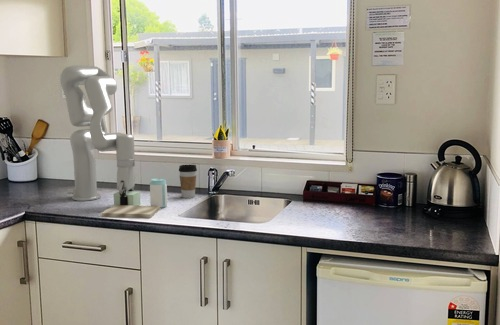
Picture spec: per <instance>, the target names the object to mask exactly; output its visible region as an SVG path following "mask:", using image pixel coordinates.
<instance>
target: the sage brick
mask: <svg viewBox="0 0 500 325" xmlns="http://www.w3.org/2000/svg"><path fill="white" fill-rule="evenodd" d="M124 193H125V191H124ZM127 197H128V205H135V206H141V191H135V190H134V191H127ZM113 205H120V194H119V191H118V192H115V193H113Z"/></svg>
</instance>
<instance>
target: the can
mask: <svg viewBox="0 0 500 325" xmlns="http://www.w3.org/2000/svg"><path fill="white" fill-rule="evenodd" d="M150 180H151V181H150V183H149V197H150V199H149V200H150V203H149V204H150V206H160V209H164V208H166V207H167V206H168V188H167V187H168V186H167V184H168V183H167V181H166V179H165V178H160V177H159V178H157V177H156V178H151V179H150ZM163 207H164V208H163Z"/></svg>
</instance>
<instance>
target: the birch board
mask: <svg viewBox="0 0 500 325" xmlns="http://www.w3.org/2000/svg"><path fill="white" fill-rule="evenodd" d="M159 211H161V208H160V206H151V205H139V206H135V205H114V204H113V205H112V206H110V207H109V208H107V209H105V210H103V212H101V217H103V218H104V217H105V218H132V219H134V218H135V219H136V218H137V219H138V218H139V219H141V218H142V219H151V218H152V217H154V214H155V213H156V214H157V213H158V212H159ZM156 214H155V215H156Z"/></svg>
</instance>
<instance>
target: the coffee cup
mask: <svg viewBox="0 0 500 325" xmlns="http://www.w3.org/2000/svg"><path fill="white" fill-rule="evenodd" d="M197 171H198V169H197V165H196V164H181V165H179V168H178V172H179V181H180V183H179V184H180V191H181V197H182V198H183V199H193V198H195V197H196V185H197Z"/></svg>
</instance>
